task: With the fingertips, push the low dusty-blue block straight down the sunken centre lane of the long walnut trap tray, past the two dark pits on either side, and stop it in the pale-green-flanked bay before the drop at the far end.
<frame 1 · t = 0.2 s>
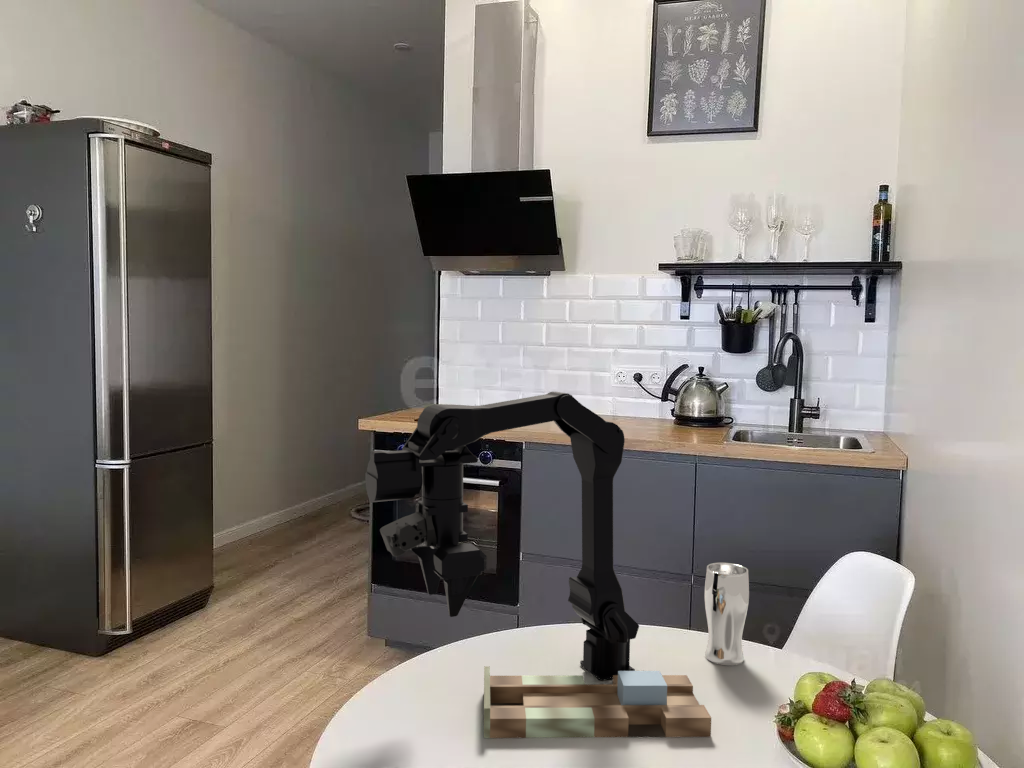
hand: (442, 604, 108), 15 cm above the table, tool pointing down, fingers open, 9 cm apart
beer glass: (724, 659, 126), on the table
trap tray: (591, 713, 107), on the table
block: (641, 702, 107), point 2 cm above the table, touching trap tray
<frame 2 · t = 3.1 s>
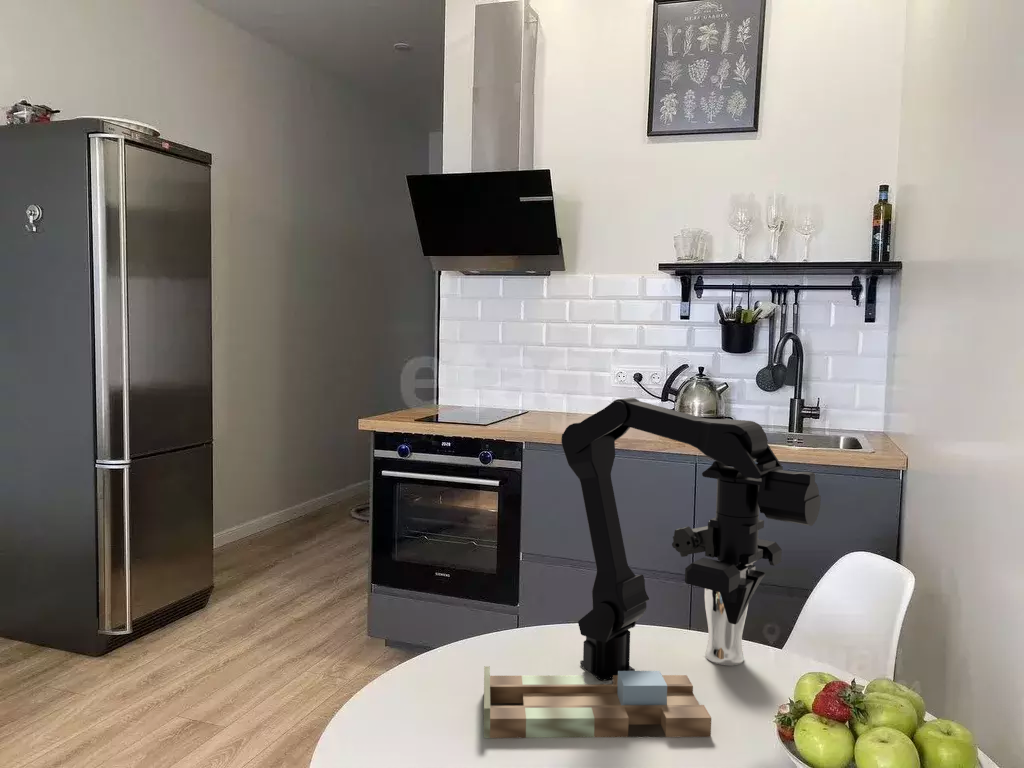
hand: (733, 623, 107), 13 cm above the table, tool pointing down, fingers closed
nothing on the table moved.
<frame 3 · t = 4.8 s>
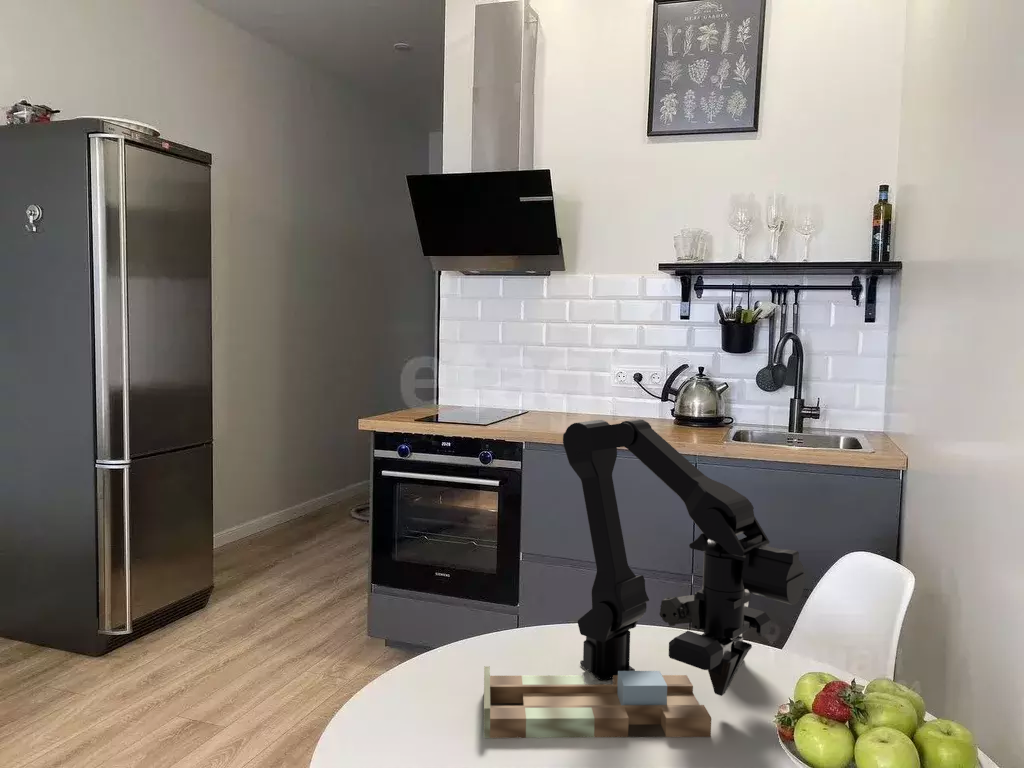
hand: (719, 694, 108), 3 cm above the table, tool pointing down, fingers closed
nothing on the table moved.
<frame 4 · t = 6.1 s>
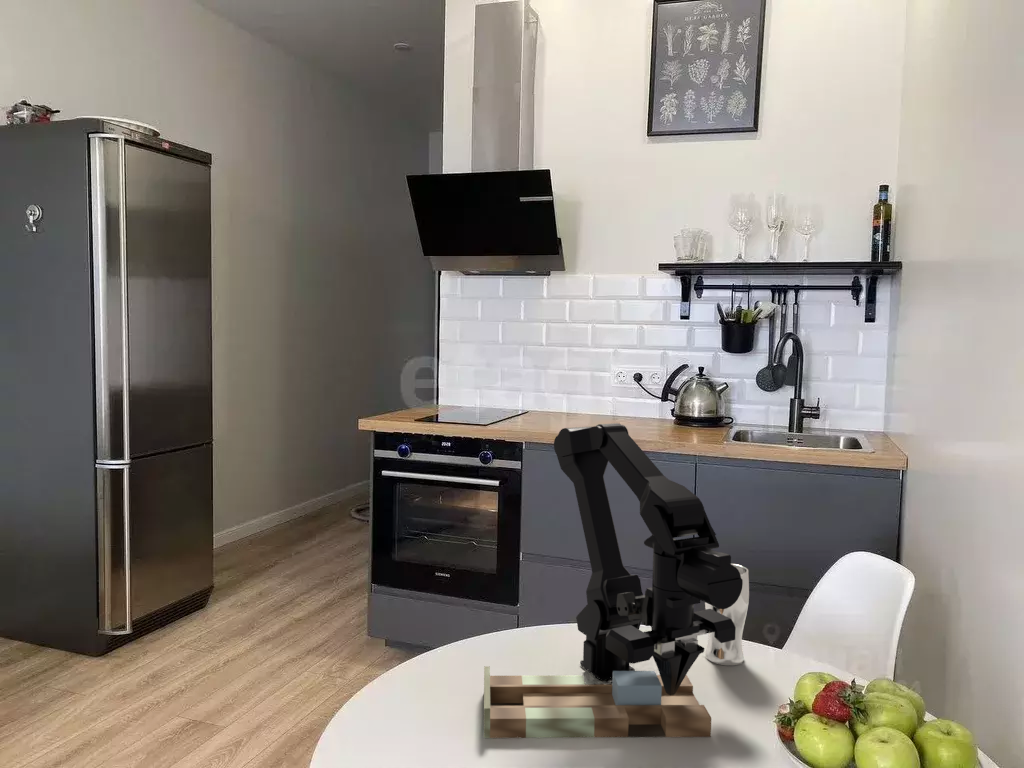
hand: (670, 693, 107), 3 cm above the table, tool pointing down, fingers closed
block: (636, 702, 107), point 2 cm above the table, touching gripper, trap tray
everything else where it was.
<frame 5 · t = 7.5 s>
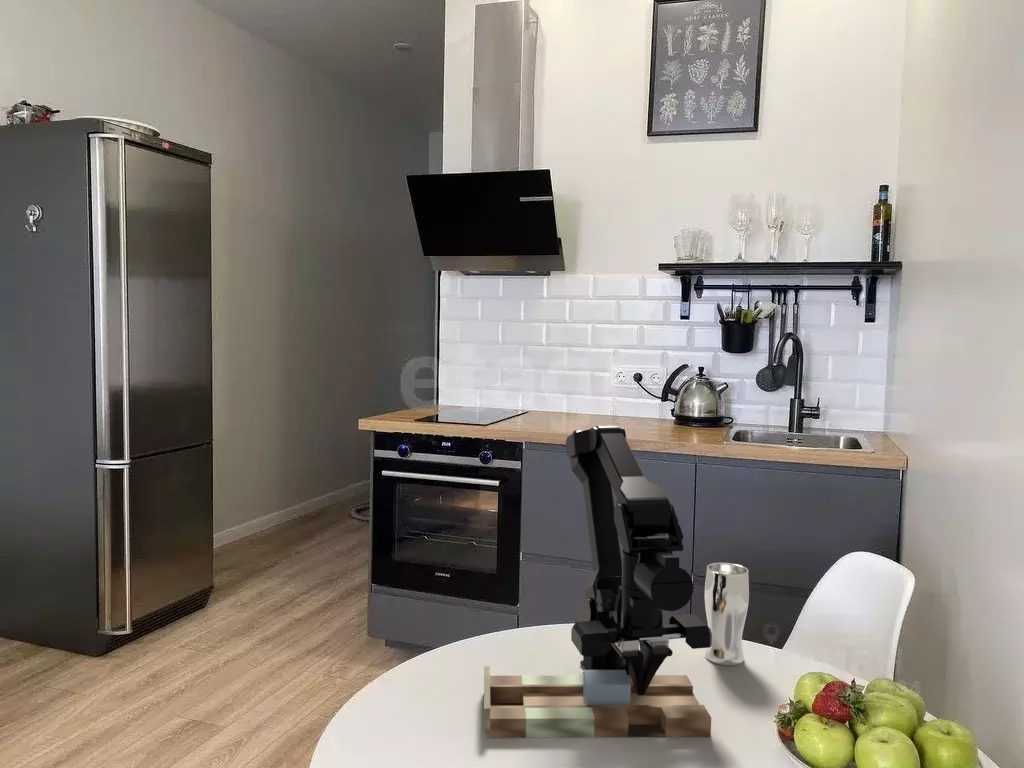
hand: (639, 694, 107), 3 cm above the table, tool pointing down, fingers closed
block: (606, 701, 107), point 2 cm above the table, touching trap tray
everything else where it was.
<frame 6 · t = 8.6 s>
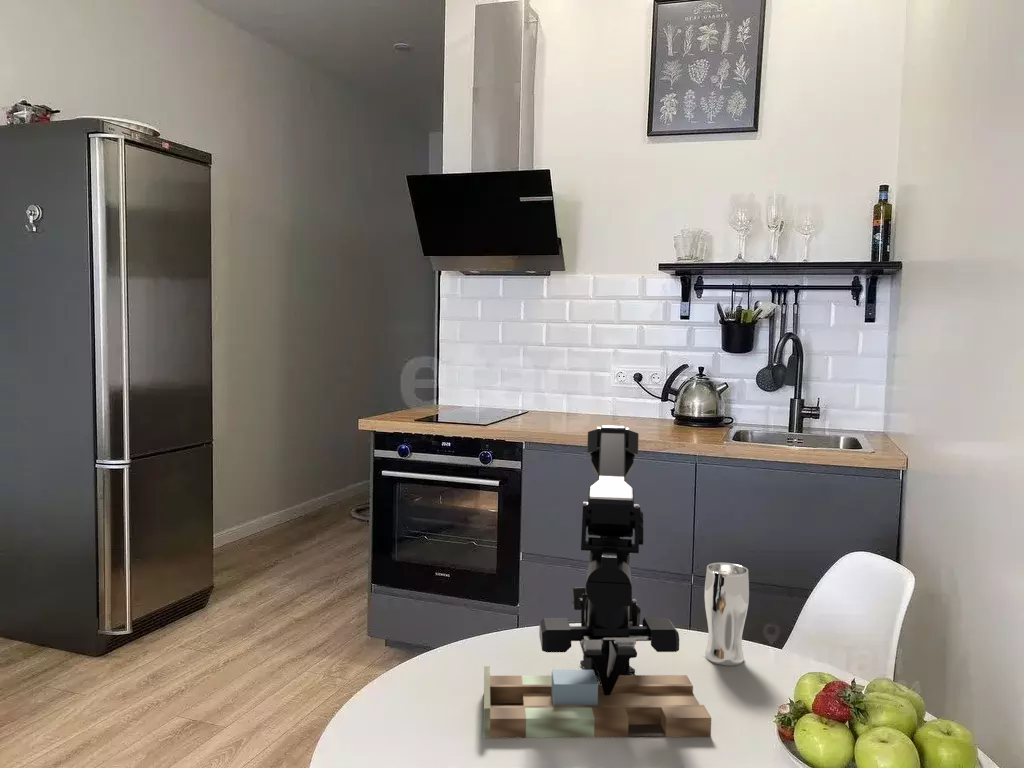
hand: (606, 694, 107), 3 cm above the table, tool pointing down, fingers closed
block: (573, 701, 107), point 2 cm above the table, touching gripper, trap tray
everything else where it was.
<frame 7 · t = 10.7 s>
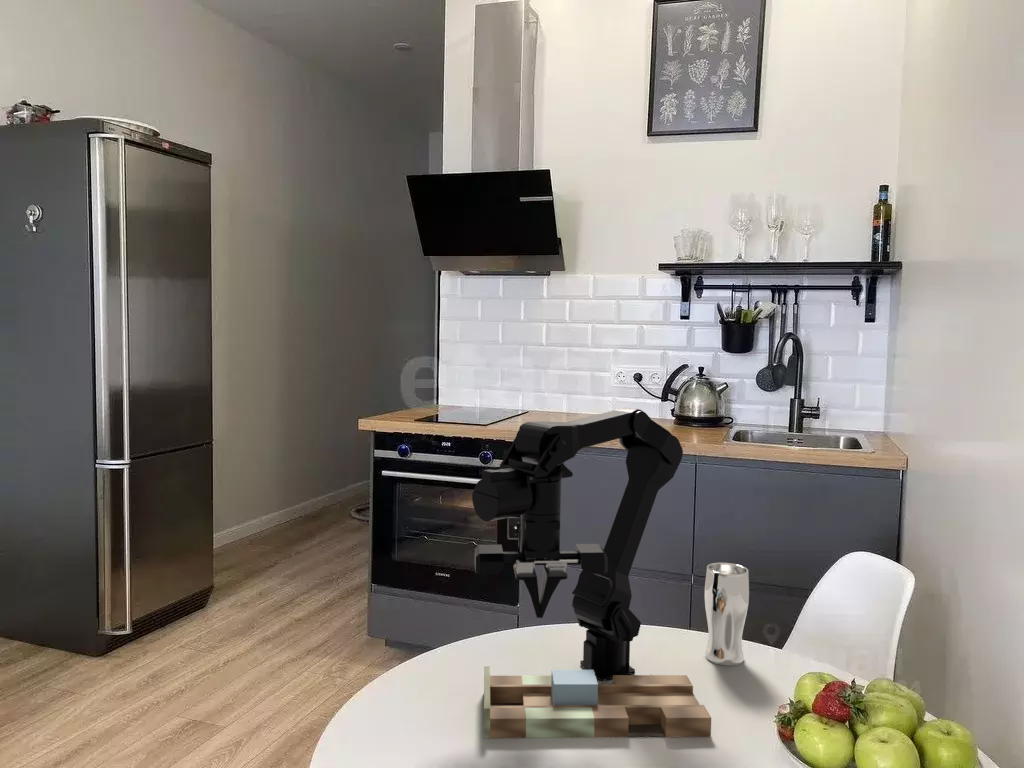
hand: (539, 617, 111), 12 cm above the table, tool pointing down, fingers closed
block: (573, 701, 107), point 2 cm above the table, touching trap tray
everything else where it was.
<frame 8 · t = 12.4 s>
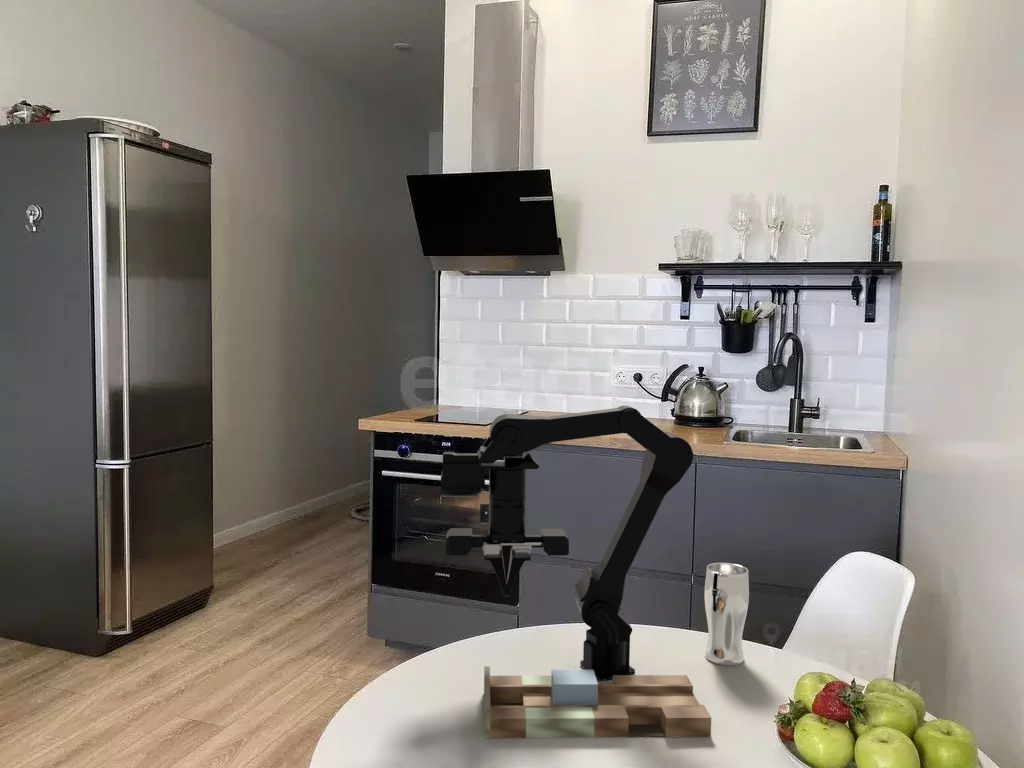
hand: (506, 595, 119), 12 cm above the table, tool pointing down, fingers closed
nothing on the table moved.
at the end: block inside the target area (2.4 cm from its centre), point 1.6 cm above the table; block tilted 0°; block moved 9.5 cm from its start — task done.
